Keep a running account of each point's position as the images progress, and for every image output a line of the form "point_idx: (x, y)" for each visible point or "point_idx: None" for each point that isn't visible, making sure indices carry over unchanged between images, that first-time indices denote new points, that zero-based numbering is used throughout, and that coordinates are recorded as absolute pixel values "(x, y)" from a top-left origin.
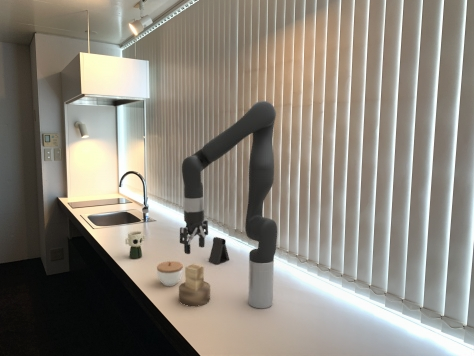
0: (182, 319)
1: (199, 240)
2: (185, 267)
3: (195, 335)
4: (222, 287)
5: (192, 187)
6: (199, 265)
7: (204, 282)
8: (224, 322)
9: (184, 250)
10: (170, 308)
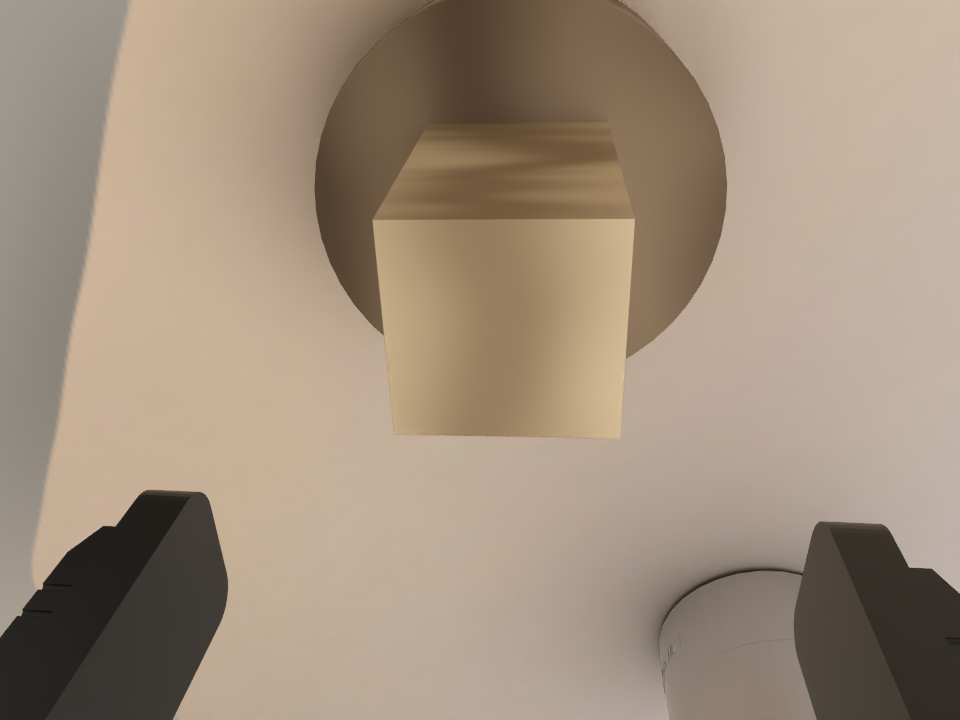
0: (168, 312)
1: (884, 712)
2: (373, 223)
3: (106, 501)
4: (931, 252)
5: None
6: (603, 370)
7: (692, 239)
8: (356, 565)
9: (56, 576)
10: (211, 83)
